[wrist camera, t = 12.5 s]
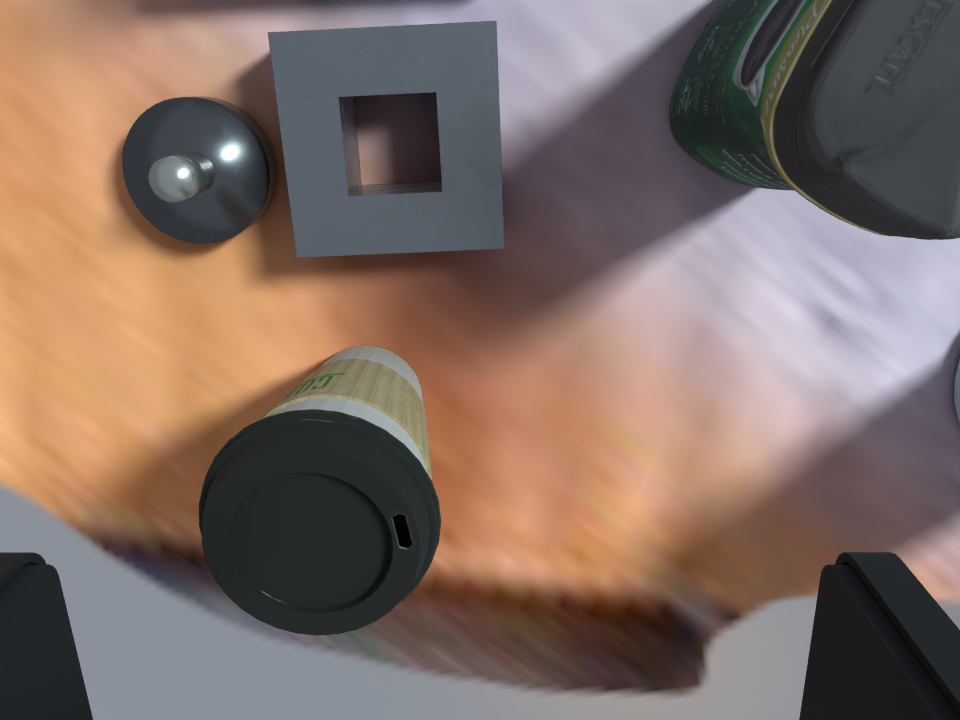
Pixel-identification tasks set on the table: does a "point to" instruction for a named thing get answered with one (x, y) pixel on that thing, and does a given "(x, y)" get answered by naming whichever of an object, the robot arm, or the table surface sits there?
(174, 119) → the dark knobbed lid
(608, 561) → the table surface
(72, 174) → the table surface
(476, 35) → the block
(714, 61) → the coffee jar
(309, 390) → the coffee cup
